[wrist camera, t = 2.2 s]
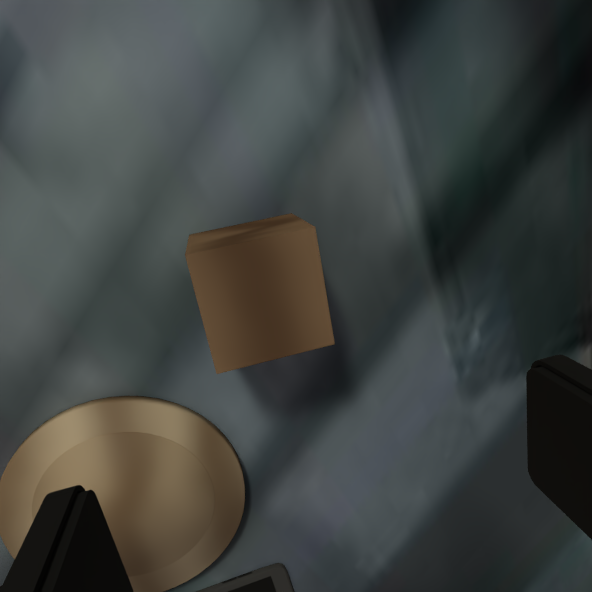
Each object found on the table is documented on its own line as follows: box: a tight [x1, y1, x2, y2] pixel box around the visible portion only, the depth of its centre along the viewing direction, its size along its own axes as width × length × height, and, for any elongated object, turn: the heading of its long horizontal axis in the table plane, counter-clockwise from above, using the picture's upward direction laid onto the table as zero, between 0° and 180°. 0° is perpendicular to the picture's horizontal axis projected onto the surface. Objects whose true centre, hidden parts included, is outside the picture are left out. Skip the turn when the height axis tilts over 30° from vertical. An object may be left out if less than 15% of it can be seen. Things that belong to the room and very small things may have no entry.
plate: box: [0, 396, 245, 592], centre depth 29 cm, size 15×15×1 cm
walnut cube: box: [185, 213, 335, 374], centre depth 24 cm, size 6×6×6 cm
